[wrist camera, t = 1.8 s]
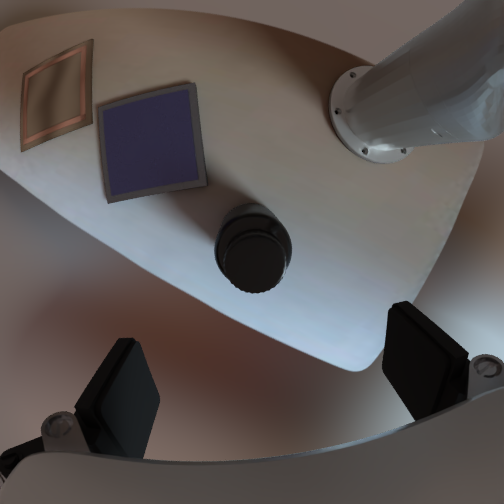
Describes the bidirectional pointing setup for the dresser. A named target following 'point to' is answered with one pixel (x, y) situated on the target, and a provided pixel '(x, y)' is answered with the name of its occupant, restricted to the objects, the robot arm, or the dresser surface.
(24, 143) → the marked board
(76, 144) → the dresser surface
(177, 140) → the ink pad
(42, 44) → the dresser surface
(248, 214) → the supplement bottle
